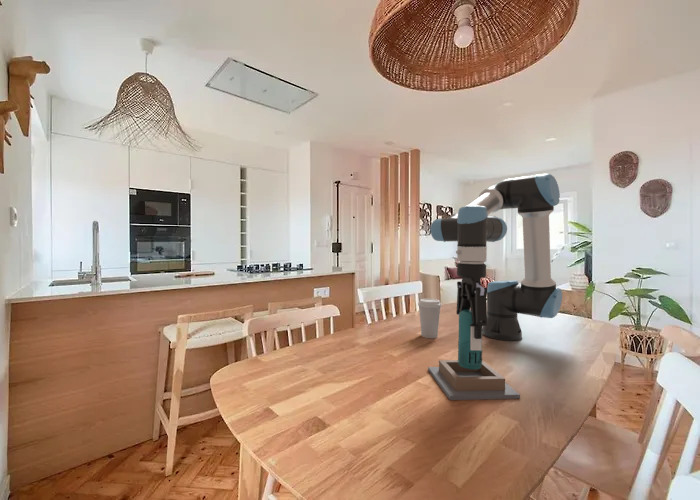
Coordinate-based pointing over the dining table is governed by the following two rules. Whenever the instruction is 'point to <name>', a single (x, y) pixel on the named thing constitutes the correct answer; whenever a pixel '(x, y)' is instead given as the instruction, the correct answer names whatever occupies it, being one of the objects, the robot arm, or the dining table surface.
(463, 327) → the beverage bottle
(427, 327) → the coffee cup
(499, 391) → the bottle stand
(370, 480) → the dining table surface
